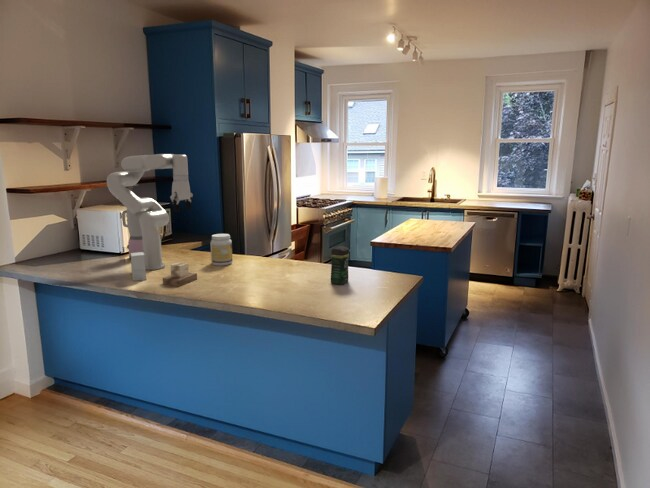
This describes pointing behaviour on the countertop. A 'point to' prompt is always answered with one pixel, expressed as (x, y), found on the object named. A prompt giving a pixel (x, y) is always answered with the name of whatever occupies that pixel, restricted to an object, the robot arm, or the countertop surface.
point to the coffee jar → (339, 265)
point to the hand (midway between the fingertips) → (182, 210)
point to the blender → (133, 232)
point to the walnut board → (179, 279)
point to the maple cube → (179, 270)
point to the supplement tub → (221, 249)
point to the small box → (138, 266)
